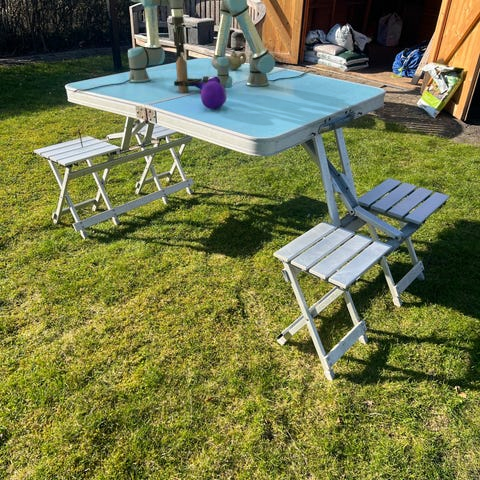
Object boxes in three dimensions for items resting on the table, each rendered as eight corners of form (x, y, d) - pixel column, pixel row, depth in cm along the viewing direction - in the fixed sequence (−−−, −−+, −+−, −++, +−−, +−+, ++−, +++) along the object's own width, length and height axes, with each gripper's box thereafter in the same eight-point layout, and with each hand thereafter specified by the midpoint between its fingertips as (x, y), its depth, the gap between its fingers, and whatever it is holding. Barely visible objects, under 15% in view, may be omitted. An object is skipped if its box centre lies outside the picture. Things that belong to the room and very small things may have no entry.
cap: (182, 55, 296) (182, 52, 295) (184, 56, 293) (184, 53, 292) (176, 56, 295) (176, 52, 294) (178, 56, 292) (178, 53, 291)
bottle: (190, 91, 306) (188, 54, 294) (183, 93, 301) (180, 55, 289) (183, 90, 310) (180, 53, 298) (176, 92, 305) (172, 54, 293)
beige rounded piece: (226, 72, 363) (226, 52, 355) (220, 70, 372) (219, 50, 364) (249, 69, 372) (249, 50, 365) (242, 67, 381) (241, 48, 373)
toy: (213, 100, 281) (226, 115, 260) (186, 95, 274) (197, 111, 253) (219, 74, 273) (233, 88, 252) (191, 69, 266) (203, 83, 245)
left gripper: (177, 15, 291) (180, 53, 302) (166, 17, 275) (170, 58, 287) (188, 15, 289) (190, 54, 301) (177, 17, 273) (181, 58, 285)
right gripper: (207, 91, 294) (172, 91, 296) (211, 85, 311) (179, 85, 313) (206, 79, 290) (171, 79, 292) (211, 73, 307) (178, 73, 309)
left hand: (180, 56), depth 294 cm, fingers open, 5 cm apart
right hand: (175, 82), depth 303 cm, fingers closed on bottle, 7 cm apart
